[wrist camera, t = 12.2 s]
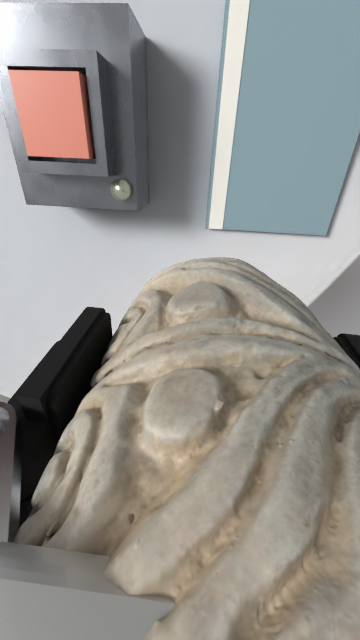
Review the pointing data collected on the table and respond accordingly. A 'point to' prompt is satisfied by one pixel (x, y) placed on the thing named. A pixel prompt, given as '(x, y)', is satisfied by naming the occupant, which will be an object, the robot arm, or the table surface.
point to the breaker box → (104, 97)
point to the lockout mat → (284, 114)
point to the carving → (217, 462)
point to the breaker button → (54, 113)
